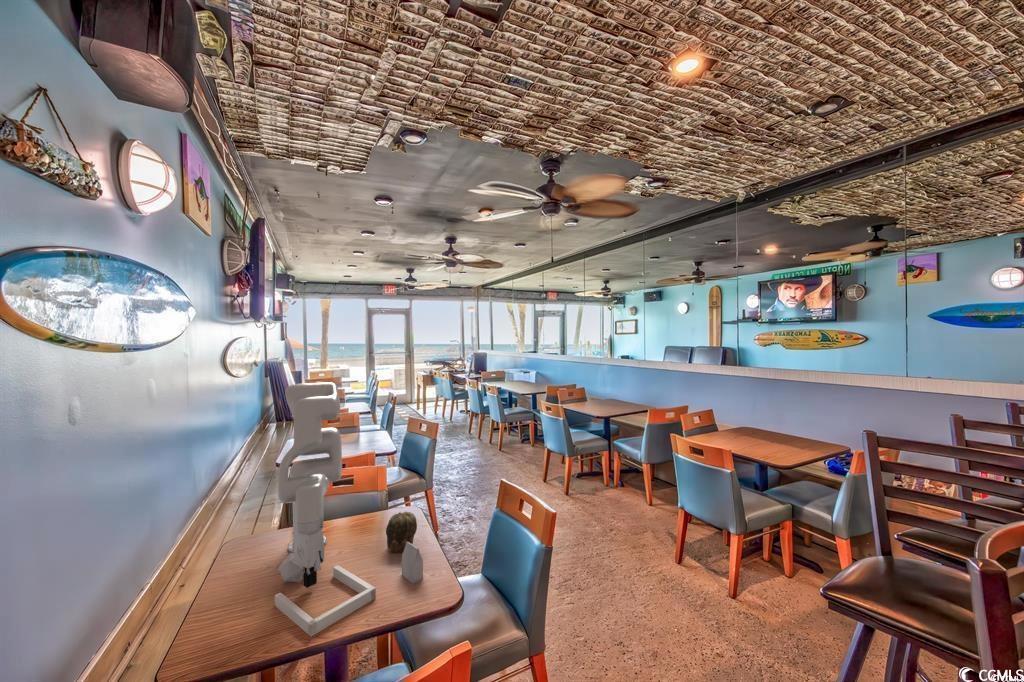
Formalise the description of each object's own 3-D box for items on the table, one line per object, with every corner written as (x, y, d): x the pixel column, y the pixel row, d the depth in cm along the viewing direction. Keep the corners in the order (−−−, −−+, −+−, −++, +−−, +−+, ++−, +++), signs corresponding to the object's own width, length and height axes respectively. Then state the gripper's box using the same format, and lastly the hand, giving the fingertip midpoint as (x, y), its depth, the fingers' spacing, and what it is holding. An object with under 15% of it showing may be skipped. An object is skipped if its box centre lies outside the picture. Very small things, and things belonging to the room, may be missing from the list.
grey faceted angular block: (412, 583, 125) (412, 551, 125) (401, 574, 130) (401, 543, 130) (423, 578, 127) (422, 547, 127) (411, 569, 132) (411, 539, 132)
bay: (274, 605, 115) (274, 595, 115) (337, 574, 130) (337, 565, 130) (311, 636, 102) (310, 624, 102) (375, 598, 118) (375, 587, 118)
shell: (422, 547, 147) (422, 514, 147) (393, 557, 140) (393, 523, 140) (409, 536, 155) (408, 505, 155) (381, 545, 148) (381, 513, 148)
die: (287, 593, 121) (308, 563, 124) (267, 575, 123) (288, 546, 126) (301, 587, 129) (321, 559, 131) (282, 571, 131) (302, 543, 134)
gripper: (285, 522, 123) (285, 582, 123) (309, 535, 114) (310, 600, 114) (309, 513, 129) (310, 571, 129) (334, 526, 120) (335, 587, 120)
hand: (310, 584), depth 121 cm, fingers closed
